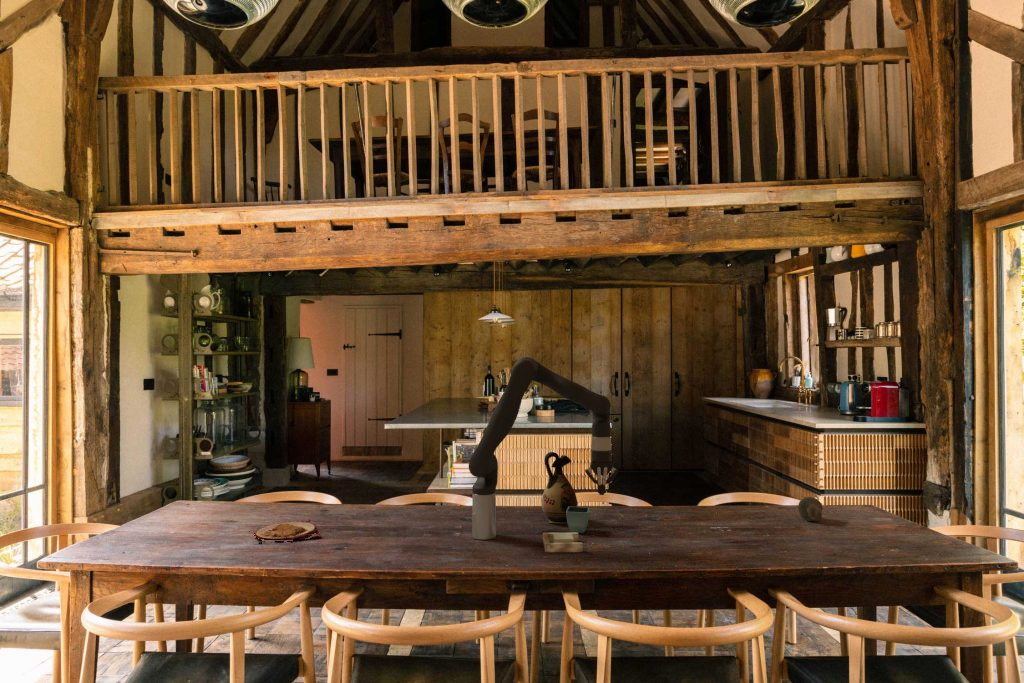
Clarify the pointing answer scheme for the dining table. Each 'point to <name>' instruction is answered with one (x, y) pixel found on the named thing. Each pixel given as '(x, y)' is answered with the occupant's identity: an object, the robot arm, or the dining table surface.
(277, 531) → the plate with food
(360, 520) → the dining table surface
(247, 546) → the dining table surface
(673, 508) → the dining table surface
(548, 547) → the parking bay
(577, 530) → the flower pot
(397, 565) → the dining table surface
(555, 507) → the ceramic jug
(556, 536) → the cream footed box
